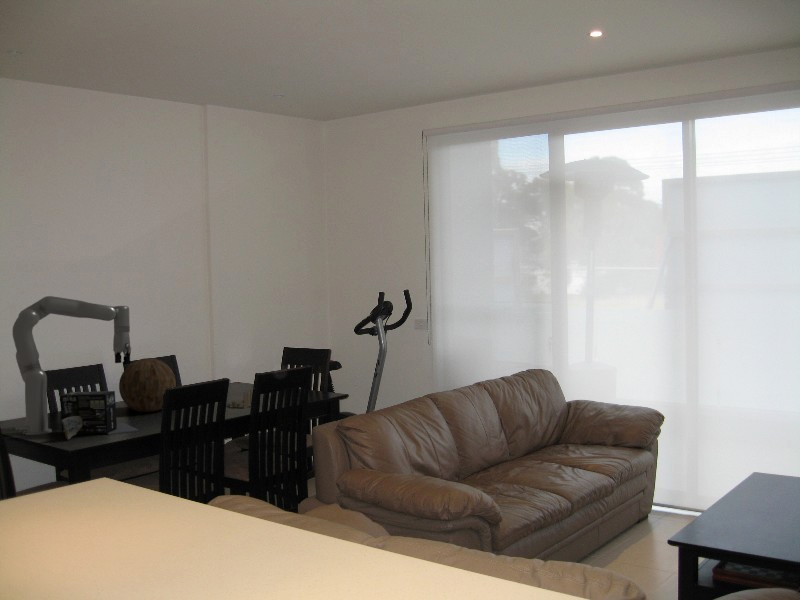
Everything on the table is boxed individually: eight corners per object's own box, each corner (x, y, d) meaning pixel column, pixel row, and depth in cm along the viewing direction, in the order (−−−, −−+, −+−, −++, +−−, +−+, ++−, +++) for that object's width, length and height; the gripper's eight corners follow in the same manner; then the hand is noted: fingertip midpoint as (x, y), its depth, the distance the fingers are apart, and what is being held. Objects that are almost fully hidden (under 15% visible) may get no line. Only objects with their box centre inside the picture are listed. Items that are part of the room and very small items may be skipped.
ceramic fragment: (65, 440, 358) (64, 418, 358) (60, 440, 360) (60, 418, 360) (84, 436, 368) (84, 415, 368) (80, 435, 369) (79, 414, 369)
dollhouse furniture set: (245, 405, 453) (245, 386, 452) (258, 407, 443) (258, 388, 443) (226, 408, 444) (225, 389, 444) (239, 410, 434) (238, 390, 434)
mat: (108, 434, 370) (108, 433, 370) (95, 427, 390) (95, 426, 390) (138, 431, 378) (138, 429, 378) (123, 424, 398) (123, 423, 398)
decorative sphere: (163, 417, 417) (161, 360, 417) (110, 417, 421) (108, 361, 420) (185, 407, 447) (183, 355, 447) (135, 408, 451) (133, 356, 450)
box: (117, 428, 381) (115, 390, 380) (108, 433, 371) (105, 393, 370) (72, 430, 383) (69, 391, 382) (61, 434, 373) (58, 395, 372)
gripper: (107, 329, 404) (107, 363, 405) (122, 330, 392) (123, 365, 393) (121, 329, 410) (121, 362, 410) (136, 330, 398) (137, 363, 398)
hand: (122, 363), depth 401 cm, fingers open, 9 cm apart
